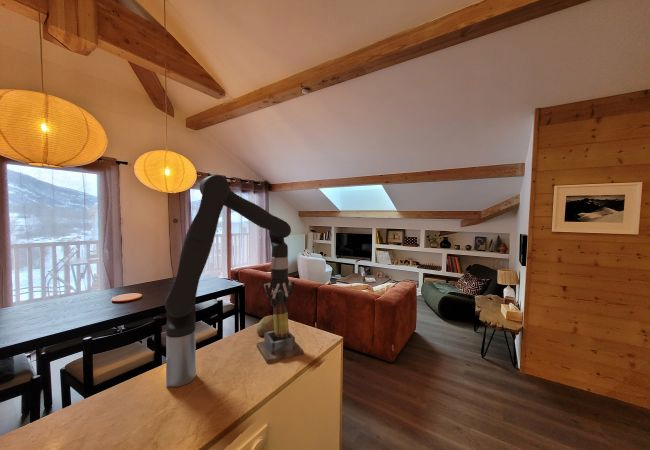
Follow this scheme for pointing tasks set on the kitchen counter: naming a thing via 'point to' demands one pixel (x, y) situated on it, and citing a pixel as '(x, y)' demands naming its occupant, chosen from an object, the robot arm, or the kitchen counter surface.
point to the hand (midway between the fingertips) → (279, 305)
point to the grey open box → (278, 347)
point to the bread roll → (265, 325)
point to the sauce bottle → (280, 316)
